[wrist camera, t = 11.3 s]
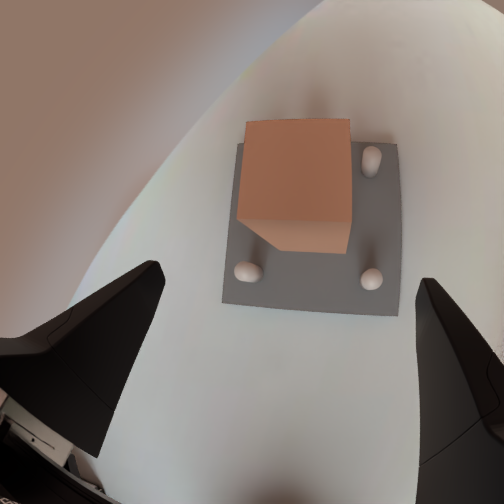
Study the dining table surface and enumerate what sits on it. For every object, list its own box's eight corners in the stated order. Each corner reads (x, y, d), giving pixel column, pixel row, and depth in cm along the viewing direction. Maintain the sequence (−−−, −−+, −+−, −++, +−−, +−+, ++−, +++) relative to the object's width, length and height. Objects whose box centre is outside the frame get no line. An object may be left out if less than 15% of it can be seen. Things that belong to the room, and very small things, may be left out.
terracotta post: (346, 189, 20) (349, 118, 11) (345, 253, 19) (351, 222, 11) (283, 188, 21) (246, 121, 12) (279, 250, 20) (236, 219, 12)
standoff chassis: (394, 150, 20) (402, 127, 17) (395, 315, 19) (405, 319, 15) (241, 149, 23) (226, 128, 20) (226, 302, 22) (207, 303, 19)
